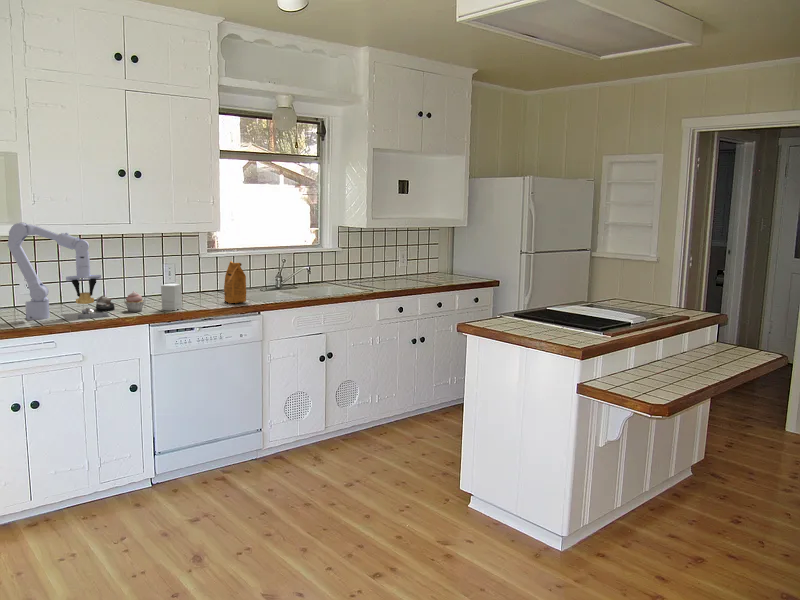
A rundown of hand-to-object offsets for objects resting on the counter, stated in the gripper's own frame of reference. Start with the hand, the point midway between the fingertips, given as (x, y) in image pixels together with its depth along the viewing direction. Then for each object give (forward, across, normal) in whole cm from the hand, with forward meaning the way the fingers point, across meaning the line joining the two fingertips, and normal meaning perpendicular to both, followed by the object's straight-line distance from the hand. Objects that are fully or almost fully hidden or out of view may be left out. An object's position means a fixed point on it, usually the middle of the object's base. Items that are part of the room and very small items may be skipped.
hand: (84, 295), depth 311 cm
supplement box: (+11, +41, +6) cm, 43 cm away
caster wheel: (+11, +12, +15) cm, 22 cm away
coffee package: (+11, +77, +13) cm, 79 cm away
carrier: (+10, 0, +2) cm, 11 cm away
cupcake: (+11, +24, +10) cm, 28 cm away
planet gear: (+3, 0, 0) cm, 3 cm away
